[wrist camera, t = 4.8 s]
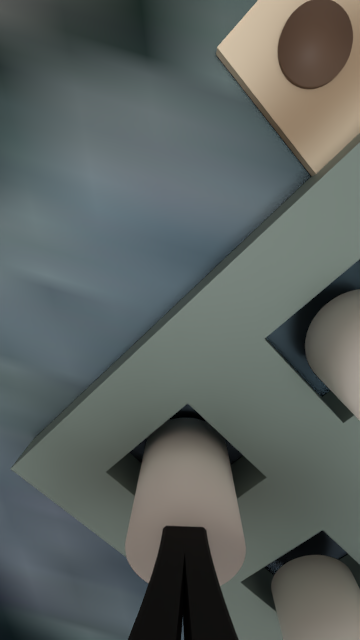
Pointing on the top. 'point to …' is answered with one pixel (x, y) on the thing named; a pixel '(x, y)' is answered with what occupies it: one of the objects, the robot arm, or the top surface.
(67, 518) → the top surface
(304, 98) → the tile
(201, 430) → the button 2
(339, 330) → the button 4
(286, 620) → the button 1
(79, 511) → the grey-green board with holes
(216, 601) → the robot arm
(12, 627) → the top surface
